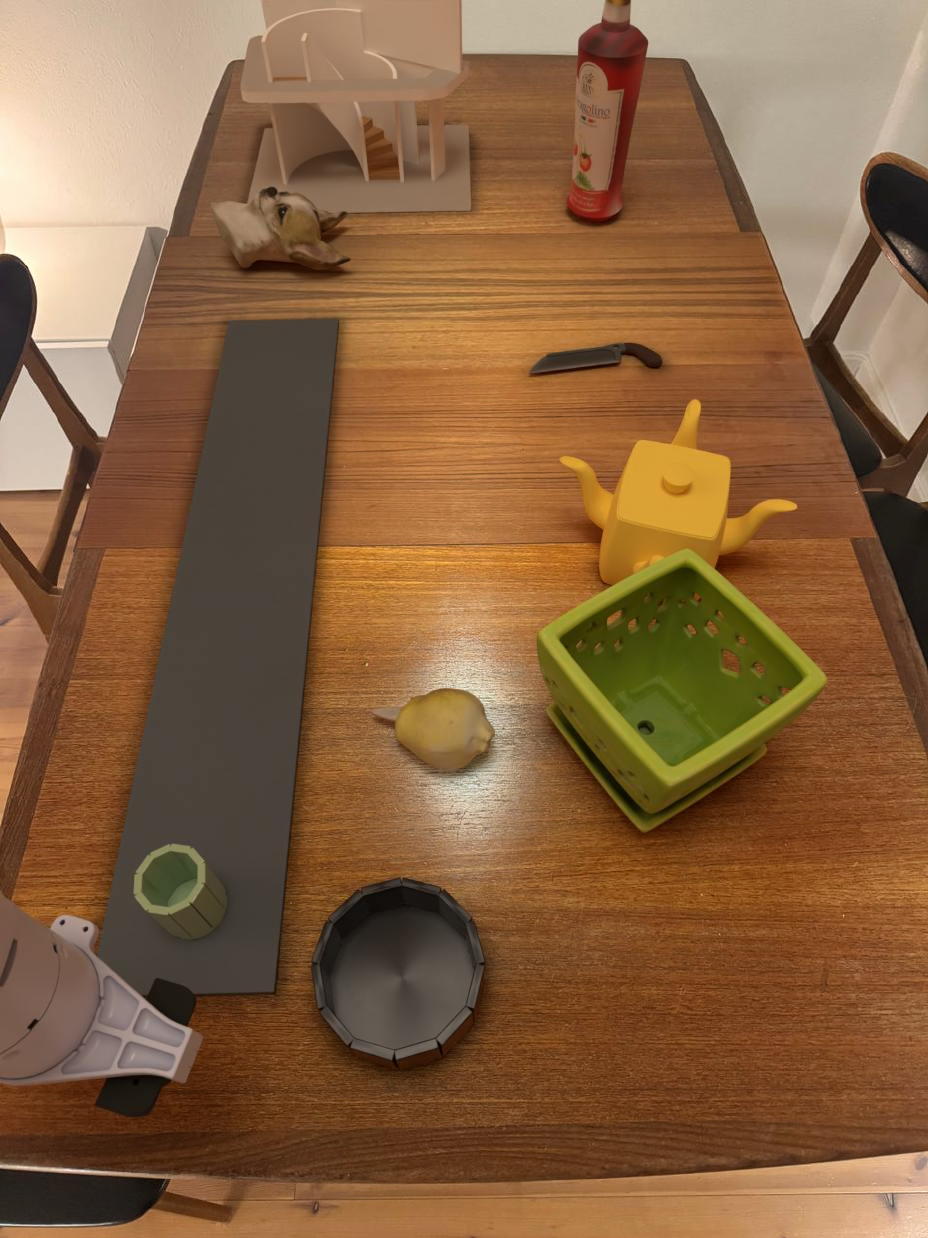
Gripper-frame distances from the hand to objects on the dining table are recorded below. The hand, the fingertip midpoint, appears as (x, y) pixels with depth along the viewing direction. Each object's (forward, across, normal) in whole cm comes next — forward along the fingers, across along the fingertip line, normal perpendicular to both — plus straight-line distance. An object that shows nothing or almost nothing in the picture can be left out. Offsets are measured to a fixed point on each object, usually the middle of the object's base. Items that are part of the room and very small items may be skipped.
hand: (105, 1041), depth 46 cm
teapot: (+10, -24, -49) cm, 55 cm away
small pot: (+9, +2, -10) cm, 14 cm away
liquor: (+10, -9, -100) cm, 101 cm away
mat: (+10, +10, -37) cm, 40 cm away
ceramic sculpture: (+10, +24, -82) cm, 86 cm away
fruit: (+10, -10, -26) cm, 30 cm away
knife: (+10, -14, -72) cm, 74 cm away
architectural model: (+10, +22, -103) cm, 106 cm away
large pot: (+10, -13, -9) cm, 19 cm away
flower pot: (+10, -26, -30) cm, 41 cm away
